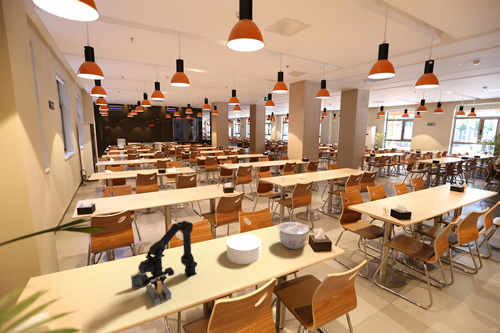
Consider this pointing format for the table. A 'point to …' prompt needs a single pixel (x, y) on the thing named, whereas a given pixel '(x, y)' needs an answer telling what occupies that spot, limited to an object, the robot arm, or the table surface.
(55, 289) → the table surface
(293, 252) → the table surface
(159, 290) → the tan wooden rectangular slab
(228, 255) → the plate stack
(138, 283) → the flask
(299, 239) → the chamber pot
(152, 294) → the rail
